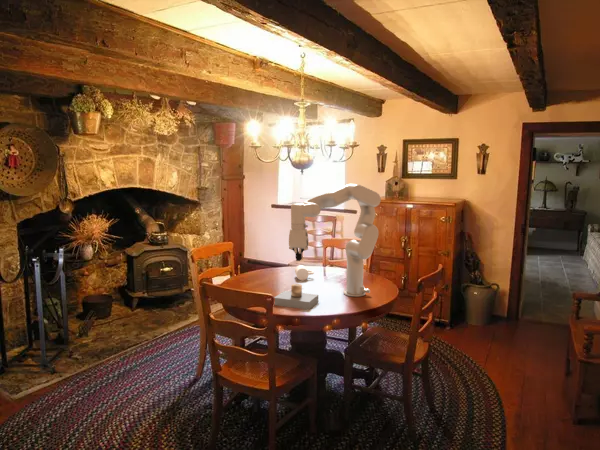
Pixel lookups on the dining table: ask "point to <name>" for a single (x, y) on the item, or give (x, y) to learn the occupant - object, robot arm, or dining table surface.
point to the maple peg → (296, 290)
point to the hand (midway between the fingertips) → (298, 260)
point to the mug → (302, 272)
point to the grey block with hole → (296, 300)
